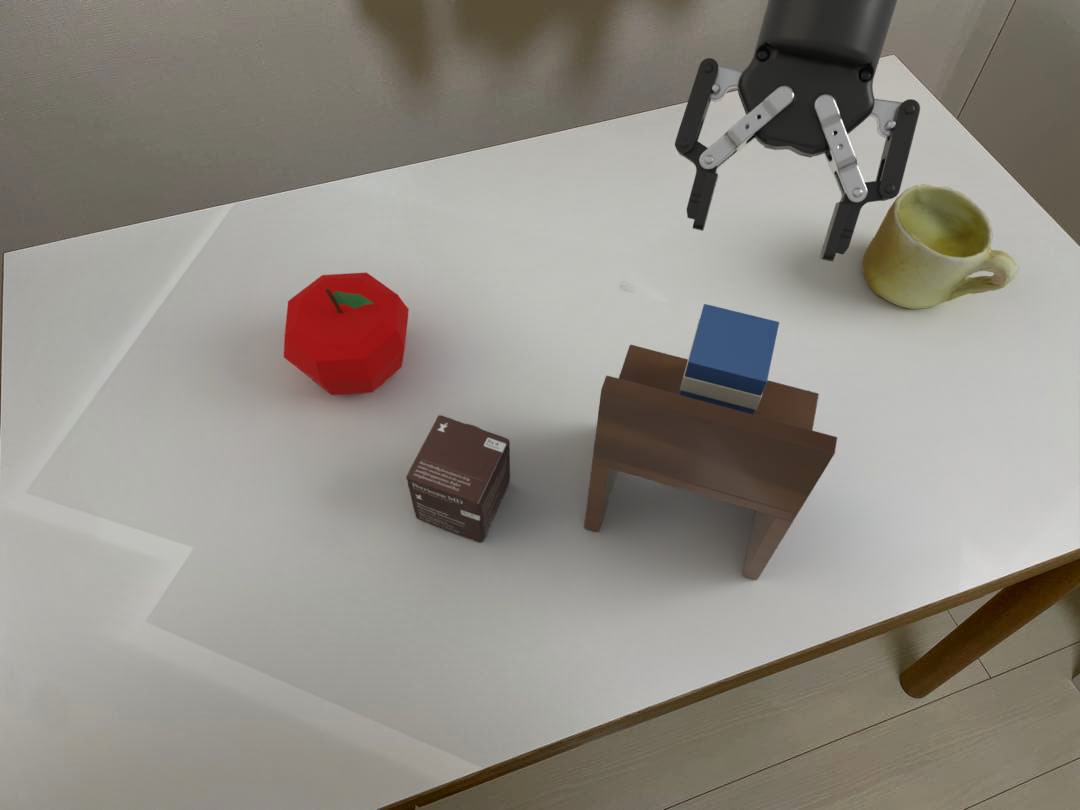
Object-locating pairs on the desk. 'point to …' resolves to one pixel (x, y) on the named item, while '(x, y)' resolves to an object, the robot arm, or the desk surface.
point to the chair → (709, 447)
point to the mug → (934, 250)
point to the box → (460, 478)
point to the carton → (729, 359)
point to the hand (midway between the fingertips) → (761, 244)
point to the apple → (346, 332)
